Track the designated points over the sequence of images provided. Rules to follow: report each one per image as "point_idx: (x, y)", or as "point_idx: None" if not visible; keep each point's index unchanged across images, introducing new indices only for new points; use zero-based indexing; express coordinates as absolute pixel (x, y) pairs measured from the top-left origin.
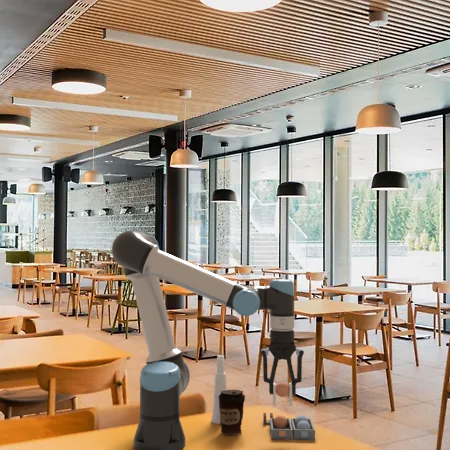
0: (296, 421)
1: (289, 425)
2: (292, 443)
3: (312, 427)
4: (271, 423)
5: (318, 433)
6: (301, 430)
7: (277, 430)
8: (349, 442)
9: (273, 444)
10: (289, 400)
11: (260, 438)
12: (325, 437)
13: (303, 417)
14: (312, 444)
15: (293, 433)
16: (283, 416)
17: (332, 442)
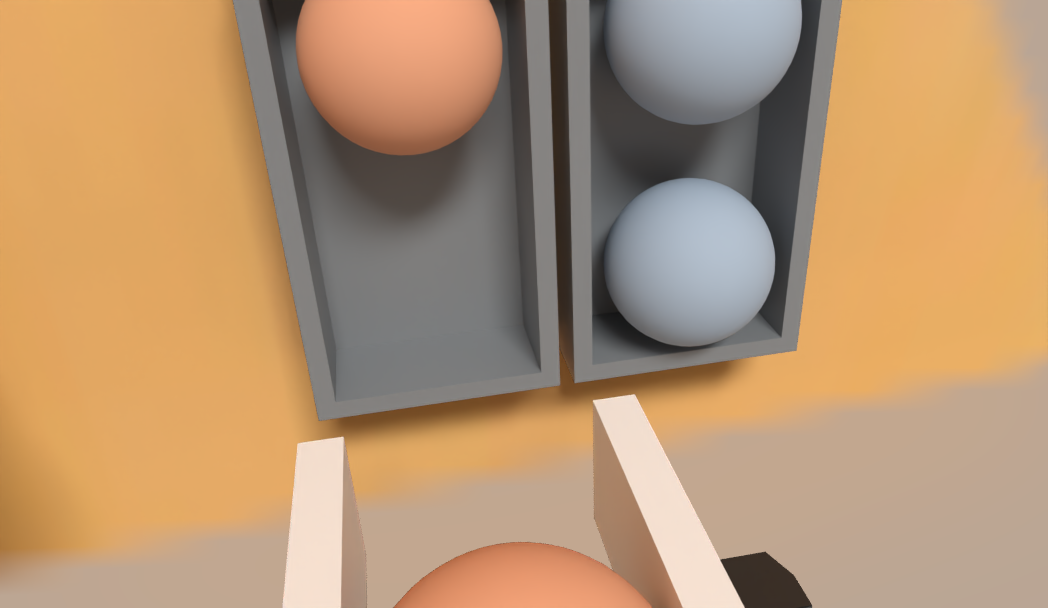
0: (632, 91)
1: (526, 151)
2: (531, 423)
3: (789, 271)
4: (283, 203)
5: (833, 84)
6: (652, 368)
7: (386, 405)
8: (1029, 303)
9: (355, 480)
10: (615, 546)
11: (194, 354)
12: (868, 206)
13: (749, 89)
14: (705, 411)
15: (558, 286)
16: (456, 89)
17: (888, 331)
